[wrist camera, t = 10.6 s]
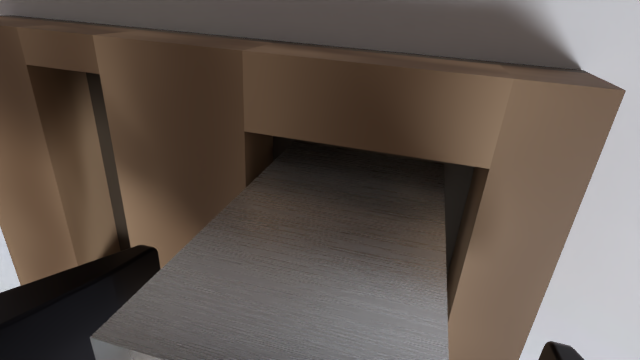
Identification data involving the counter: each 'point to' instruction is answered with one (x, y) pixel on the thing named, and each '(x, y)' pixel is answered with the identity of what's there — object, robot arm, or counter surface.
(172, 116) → the socket block
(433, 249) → the square bit
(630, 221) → the counter surface
